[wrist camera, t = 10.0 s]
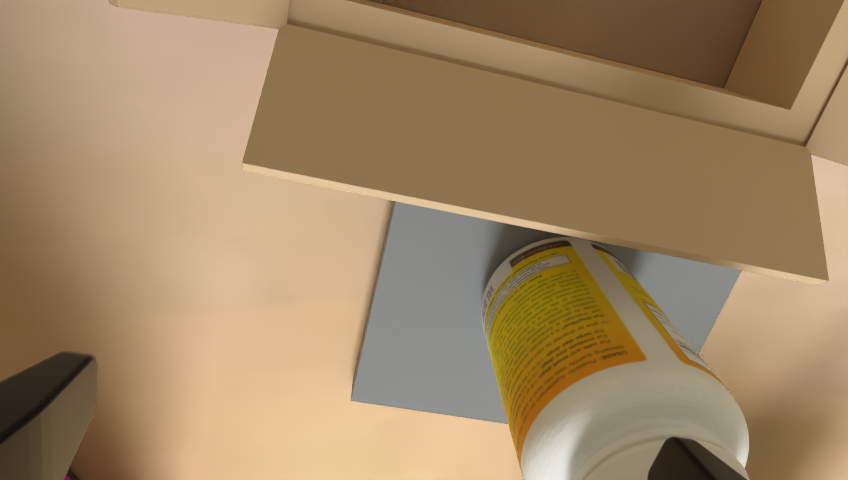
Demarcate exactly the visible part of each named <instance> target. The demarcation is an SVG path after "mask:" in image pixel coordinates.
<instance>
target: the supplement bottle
mask: <svg viewBox="0 0 848 480" xmlns="http://www.w3.org/2000/svg"><path fill="white" fill-rule="evenodd" d="M481 320H482V326H483V330H484V334H485V338H486V342H487V346H488V349H489V353H490V357H491V360H492V364H493V368H494V372H495V376H496V379H497V383H498V387H499V391H500V394H501V398H502V402H503V406H504V410H505V413H506V417H507V421H508V424H509V428H510V432H511V435H512V439H513V442H514V446H515V449H516V453H517V457H518V461H519V464H520V468H521V472H522V476H523V479H524V480H647V477H648V472H649V469H650V467H651V465H652V464H653V462H654V460H655V458H656V456H657V454H658V452H659V451H660V449H661V447H662V445H663V443H664V442H665V440H666V439H668V438H669V437H674V436H675V437H682V438H689V439H693V440H695V441H697V442H698V443H700V444H701V445H702V446H704V447H705V448H706V449H708V450H709V451H710V452H712V453H713V454H714V455H716V456H717V457H718V458H719V459H721V460H722V461H723V462H725V463H726V464H727V465H729V466H730V467H731V468H733V469H734V470H735V471H737V472H738V473H739V474H741V475H742V476H743V477H745V478H746V479H747V480H750V479H749V477H748V474H747V472H746V470H745V466H746V462H747V458H748V453H749V433H748V428H747V424H746V420H745V418H744V415H743V413H742V411H741V408H740V407H739V405H738V404H737V402H736V401H735V399H734V398H733V397H732V395H731V394H730V392H729V391H728V390H727V388H726V387H725V386H724V385H723V384H722V382H721V381H720V380H719V379H718V378H717V376H716V375H715V374H714V373H713V372H712V370H711V369H710V368H709V366H708V365H707V364H706V363H705V362H704V361H703V359H702V358H701V357H700V356H699V355H698V353H697V352H696V351H695V350H694V348H693V347H692V346H691V345H690V344H689V342H688V341H687V340H686V339H685V338H684V336H683V335H682V334H681V333H680V331H679V330H678V329H677V328H676V327H675V325H674V324H673V323H672V322H671V320H670V319H669V318H668V317H667V316H666V314H665V313H664V312H663V311H662V309H661V308H660V307H659V306H658V305H657V304H656V302H655V301H654V300H653V299H652V298H651V296H650V295H649V294H648V293H647V292H646V290H645V289H644V288H643V286H642V285H641V284H640V283H639V282H638V281H637V279H636V278H635V277H634V276H633V275H632V274H631V272H630V271H629V270H628V269H627V268H626V266H625V265H624V264H623V263H622V262H621V261H620V260H619V259H618V258H617V257H616V256H615V255H614V254H613V253H611V252H610V251H609V250H607V249H606V248H604V247H602V246H601V245H598V244H596V243H594V242H591V241H588V240H585V239H580V238H573V237H557V238H550V239H545V240H541V241H538V242H535V243H532V244H530V245H527V246H525V247H523V248H522V249H520V250H518V251H516V252H515V253H513V254H512V255H511V256H509V257H508V258H507V259H506V260H505V261H504V262H503V263H502V264H501V265H500V266H499V267H498V268H497V269H496V271H495V272H494V274H493V275H492V277H491V278H490V280H489V282H488V284H487V286H486V289H485V291H484V295H483V299H482V305H481Z"/></svg>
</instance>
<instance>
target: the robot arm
mask: <svg viewBox="0 0 848 480" xmlns="http://www.w3.org/2000/svg"><path fill="white" fill-rule="evenodd" d="M97 370H98V365H97V360H96V357H95V356H93V355H92V354H87V353H80V352H73V351H63V352H60V353H58V354H56V355H54V356H52V357H50V358H48V359H46V360H44V361H42V362H40V363H38V364H36V365H33V366H31V367H29V368H27V369H25V370H23V371H21V372H19V373H17V374H15V375H13V376H11V377H9V378H7V379H5V380H3V381H1V382H0V480H64V478H65V476H66V473H67V471H68V469H69V467H70V465H71V463H72V461H73V458H74V456H75V454H76V452H77V450H78V448H79V446H80V443H81V441H82V439H83V437H84V435H85V433H86V431H87V428H88V426H89V424H90V422H91V420H92V418H93V415H94V412H95V409H96V405H97ZM647 480H747V479H746V478H745V477H743V476H742V475H741V474H739V473H738V472H737V471H735V470H734V469H733V468H731V467H730V466H729V465H727V464H726V463H725V462H723V461H722V460H721V459H719V458H718V457H717V456H716V455H714V454H713V453H712V452H710V451H709V450H708V449H706V448H705V447H704V446H702V445H701V444H700V443H698V442H697V441H695V440H693V439H689V438H682V437H675V436H674V437H669V438H668V439H666V440H665V442H664V443H663V445H662V447H661V449H660V451H659V452H658V454H657V456H656V458H655V460H654V462H653V464H652V465H651V467H650V469H649V472H648V477H647Z"/></svg>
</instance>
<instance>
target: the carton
mask: <svg viewBox="0 0 848 480" xmlns="http://www.w3.org/2000/svg"><path fill="white" fill-rule="evenodd" d="M109 3H110V4H112V5H114V6H116V7H120V8H127V9H135V10H142V11H149V12H157V13H164V14H172V15H179V16H187V17H194V18H202V19H209V20H216V21H224V22H231V23H239V24H246V25H254V26H261V27H269V28H276V29H279V31H278V35H277V38H276V42H275V45H274V49H273V53H272V56H271V60H270V64H269V67H268V71H267V75H266V78H265V82H264V85H263V89H262V93H261V96H260V100H259V104H258V107H257V111H256V115H255V118H254V122H253V125H252V129H251V133H250V136H249V140H248V144H247V147H246V151H245V155H244V158H243V162H242V165H243V169H244V171H246V172H251V173H256V174H261V175H266V176H271V177H276V178H281V179H286V180H291V181H296V182H301V183H306V184H311V185H316V186H321V187H326V188H331V189H336V190H341V191H346V192H351V193H356V194H361V195H367V196H372V197H377V198H382V199H387V200H392V201H397V202H402V203H407V204H412V205H417V206H422V207H427V208H432V209H437V210H442V211H447V212H452V213H457V214H462V215H467V216H472V217H477V218H482V219H487V220H492V221H497V222H502V223H507V224H512V225H517V226H522V227H527V228H532V229H537V230H542V231H547V232H552V233H557V234H562V235H567V236H572V237H577V238H582V239H587V240H592V241H597V242H602V243H607V244H613V245H618V246H623V247H628V248H633V249H638V250H643V251H648V252H653V253H658V254H663V255H668V256H673V257H678V258H683V259H688V260H693V261H698V262H703V263H708V264H713V265H718V266H723V267H728V268H733V269H738V270H743V271H748V272H753V273H758V274H763V275H768V276H773V277H778V278H783V279H788V280H793V281H798V282H803V283H808V284H813V285H818V284H821V283H824V282H827V281H829V279H828V272H827V265H826V258H825V251H824V244H823V237H822V230H821V223H820V216H819V209H818V202H817V195H816V188H815V181H814V174H813V167H812V160H811V155H815V156H818V157H821V158H824V159H827V160H831V161H834V162H837V163H840V164H843V165H846V166H848V0H762V2H761V5H760V7H759V9H758V11H757V14H756V16H755V18H754V21H753V23H752V25H751V27H750V30H749V32H748V34H747V37H746V39H745V41H744V43H743V46H742V48H741V50H740V52H739V55H738V57H737V59H736V62H735V64H734V66H733V68H732V71H731V73H730V75H729V78H728V80H727V82H726V84H725V87H724V88H720V87H716V86H712V85H708V84H704V83H700V82H696V81H692V80H688V79H684V78H680V77H676V76H672V75H668V74H664V73H660V72H656V71H652V70H648V69H644V68H640V67H636V66H632V65H628V64H623V63H619V62H615V61H611V60H607V59H603V58H599V57H595V56H591V55H587V54H583V53H579V52H575V51H571V50H567V49H563V48H559V47H555V46H551V45H547V44H543V43H539V42H535V41H531V40H527V39H523V38H519V37H515V36H511V35H507V34H503V33H499V32H495V31H491V30H487V29H483V28H479V27H474V26H470V25H466V24H462V23H458V22H454V21H450V20H446V19H442V18H438V17H434V16H430V15H426V14H422V13H418V12H414V11H410V10H406V9H402V8H398V7H394V6H390V5H386V4H382V3H378V2H374V1H370V0H109Z"/></svg>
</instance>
